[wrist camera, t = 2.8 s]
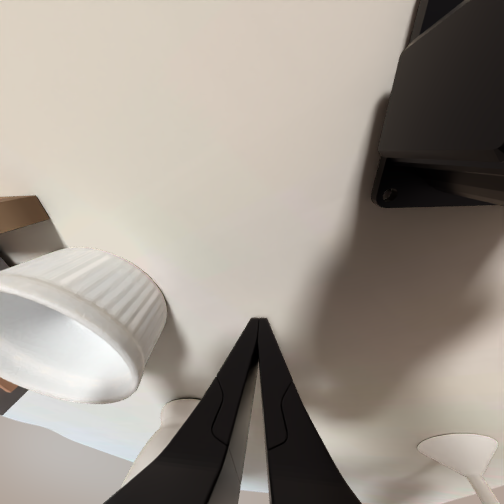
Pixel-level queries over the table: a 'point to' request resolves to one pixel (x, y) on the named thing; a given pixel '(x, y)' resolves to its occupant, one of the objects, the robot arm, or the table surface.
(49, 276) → the ramekin
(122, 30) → the table surface
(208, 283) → the table surface
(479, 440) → the champagne flute
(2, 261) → the block
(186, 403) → the jar
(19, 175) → the table surface
